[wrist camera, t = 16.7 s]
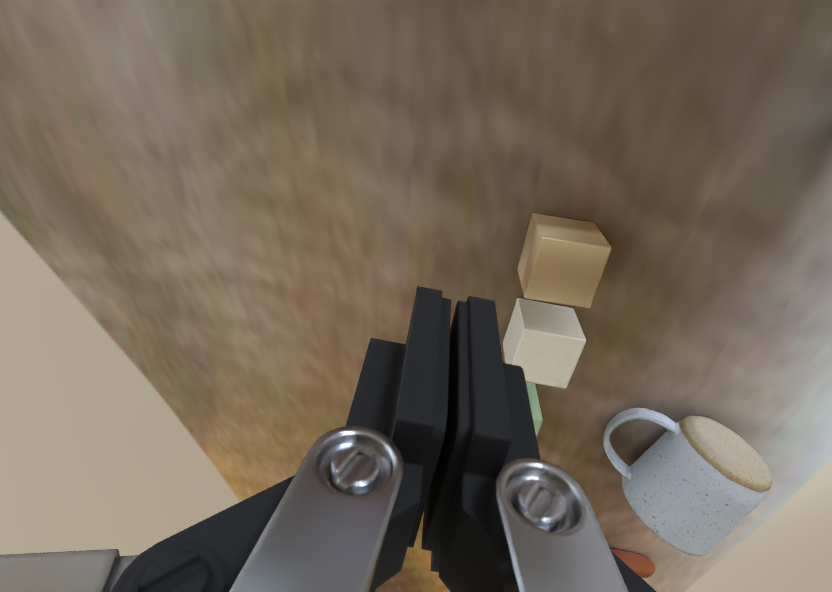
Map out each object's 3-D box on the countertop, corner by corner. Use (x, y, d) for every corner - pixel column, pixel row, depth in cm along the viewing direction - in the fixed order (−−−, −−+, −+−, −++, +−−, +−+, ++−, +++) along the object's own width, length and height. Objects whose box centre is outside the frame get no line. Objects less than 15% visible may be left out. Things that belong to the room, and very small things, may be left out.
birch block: (531, 212, 32) (541, 237, 28) (594, 222, 32) (612, 247, 28) (517, 269, 34) (524, 298, 30) (576, 278, 34) (590, 308, 30)
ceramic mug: (748, 426, 39) (807, 508, 32) (684, 487, 43) (724, 572, 36) (634, 381, 38) (669, 456, 31) (578, 447, 42) (600, 527, 35)
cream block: (517, 297, 35) (523, 328, 31) (573, 307, 35) (587, 340, 31) (502, 343, 37) (506, 378, 33) (555, 353, 37) (566, 389, 33)
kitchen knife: (652, 554, 48) (659, 574, 46) (645, 562, 49) (652, 582, 47) (501, 519, 47) (503, 538, 45) (496, 527, 48) (498, 546, 46)
